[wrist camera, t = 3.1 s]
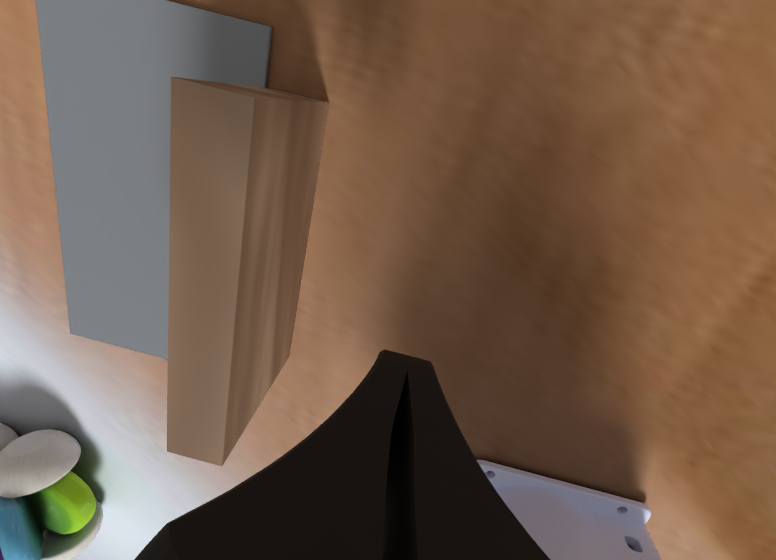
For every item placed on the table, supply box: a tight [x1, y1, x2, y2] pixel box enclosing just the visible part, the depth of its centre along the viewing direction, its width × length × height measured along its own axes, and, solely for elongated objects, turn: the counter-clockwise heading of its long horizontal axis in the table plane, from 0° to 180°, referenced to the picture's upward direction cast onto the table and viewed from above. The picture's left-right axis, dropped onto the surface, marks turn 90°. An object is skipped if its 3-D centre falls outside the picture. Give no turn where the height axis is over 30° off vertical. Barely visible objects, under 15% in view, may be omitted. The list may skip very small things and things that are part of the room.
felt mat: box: [36, 0, 272, 359], centre depth 18 cm, size 9×16×1 cm, turn 167°
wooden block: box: [167, 77, 329, 466], centre depth 15 cm, size 2×12×7 cm, turn 167°
